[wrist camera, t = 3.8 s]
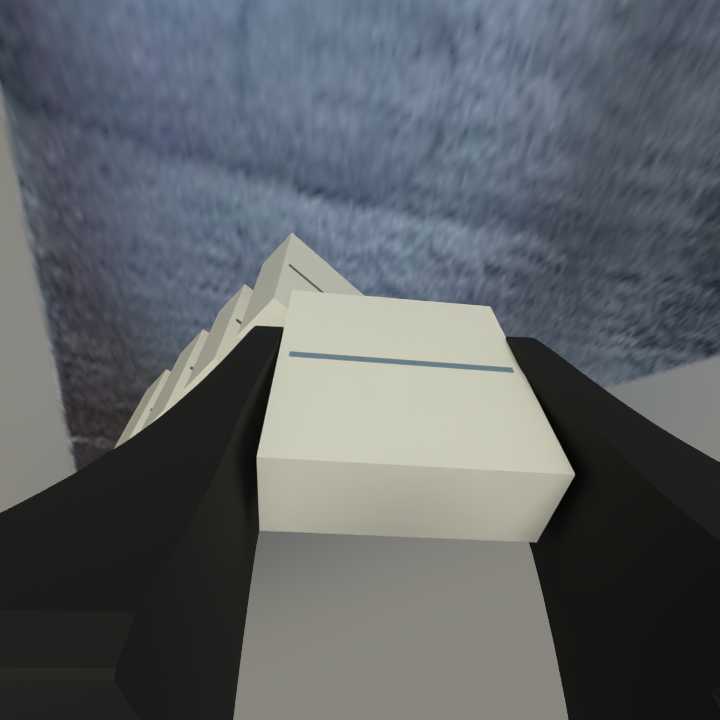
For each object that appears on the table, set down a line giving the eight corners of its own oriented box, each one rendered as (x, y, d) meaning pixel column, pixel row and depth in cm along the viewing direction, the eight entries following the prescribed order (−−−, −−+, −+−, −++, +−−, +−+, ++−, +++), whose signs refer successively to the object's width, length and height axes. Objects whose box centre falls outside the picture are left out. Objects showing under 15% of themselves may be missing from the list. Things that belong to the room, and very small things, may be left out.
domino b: (332, 350, 21) (327, 433, 16) (305, 373, 21) (294, 458, 17) (244, 283, 19) (214, 358, 14) (219, 311, 19) (182, 390, 15)
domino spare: (489, 305, 11) (576, 474, 7) (471, 365, 12) (536, 543, 8) (292, 289, 11) (256, 455, 7) (290, 352, 12) (259, 530, 8)
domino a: (379, 309, 19) (388, 386, 15) (350, 335, 20) (350, 415, 16) (292, 232, 17) (274, 297, 13) (262, 264, 18) (236, 336, 14)
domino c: (289, 388, 22) (274, 473, 18) (266, 408, 23) (246, 495, 18) (203, 328, 20) (164, 409, 16) (180, 353, 21) (137, 437, 16)
